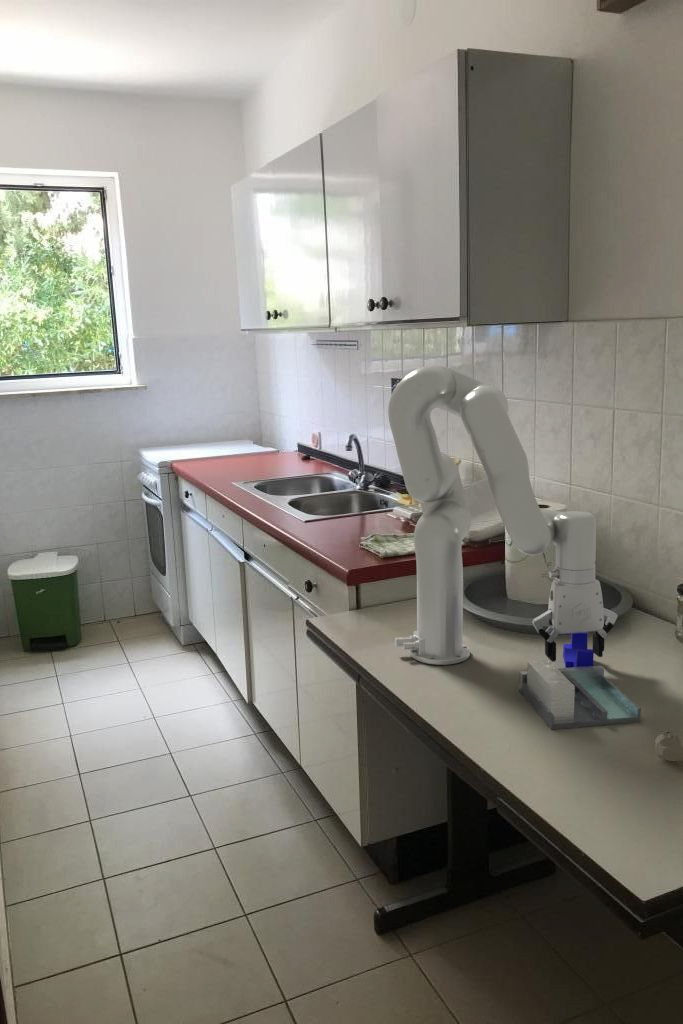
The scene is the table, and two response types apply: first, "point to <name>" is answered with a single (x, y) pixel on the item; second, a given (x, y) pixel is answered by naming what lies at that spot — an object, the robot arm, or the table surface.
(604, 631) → the robot arm
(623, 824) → the table surface
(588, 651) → the blue curved block
